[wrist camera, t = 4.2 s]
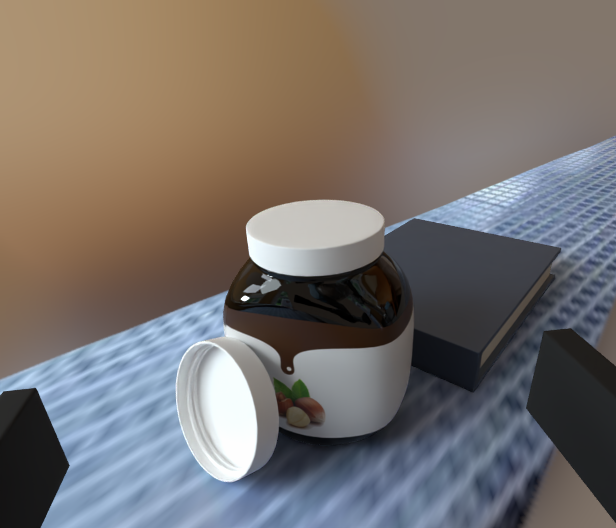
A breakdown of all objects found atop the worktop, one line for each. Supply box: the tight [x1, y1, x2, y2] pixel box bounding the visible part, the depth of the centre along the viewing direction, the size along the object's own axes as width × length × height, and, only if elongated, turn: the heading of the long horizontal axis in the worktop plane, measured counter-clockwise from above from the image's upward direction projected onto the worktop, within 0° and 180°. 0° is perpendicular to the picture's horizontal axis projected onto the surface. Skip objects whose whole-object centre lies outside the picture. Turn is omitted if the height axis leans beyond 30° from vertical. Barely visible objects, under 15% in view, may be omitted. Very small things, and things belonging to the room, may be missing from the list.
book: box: [384, 218, 561, 392], centre depth 35 cm, size 18×14×3 cm
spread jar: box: [176, 200, 414, 482], centre depth 22 cm, size 12×11×12 cm
